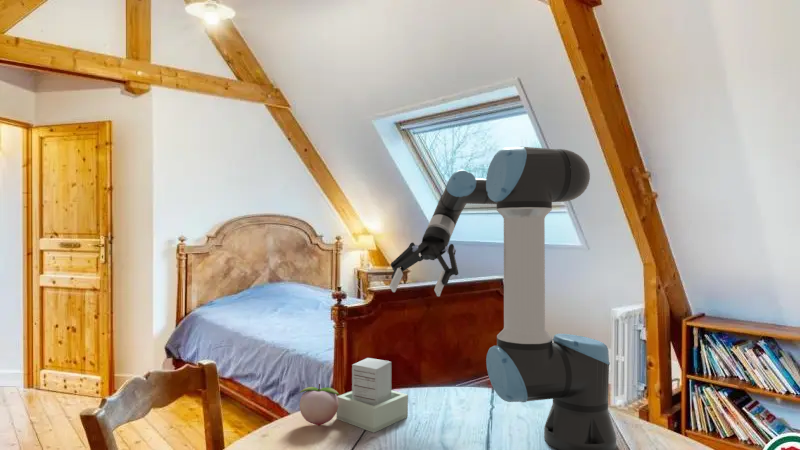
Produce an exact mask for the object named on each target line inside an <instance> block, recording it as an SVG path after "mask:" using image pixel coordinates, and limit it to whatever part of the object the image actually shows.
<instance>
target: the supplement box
mask: <svg viewBox="0 0 800 450" xmlns="http://www.w3.org/2000/svg"><path fill="white" fill-rule="evenodd" d="M351 366H352V367H351V384H352V385H351V391H352V399H353V400H356V401H360V402H363V403H366V404H369V405H372V406H375V405H378V404H380V403H383V402H385V401H388V400H390V399H391V390H392V361H389V360H386V359H385V360H384V359H377V358H373V357H366V358H364V359H362V360H359V361H358V362H355V363H353V364H351Z"/></svg>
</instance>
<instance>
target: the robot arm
mask: <svg viewBox="0 0 800 450" xmlns="http://www.w3.org/2000/svg"><path fill="white" fill-rule="evenodd" d="M590 180H591V172H590V169H589V165H588V164H587V162H586V161H585V159H584V158H583V157H582V156H581V155H579V154H577V153H576V152H574V151H573V150H568V149H565V148H564V149H563V148H546V147H545V148H543V147H531V146H511V147H510V146H509V147H504V148H501V149H500V150H498V151H497V152H496V153H495V154H494V156H493V157H492V159H491V161H490V162H489V166H488V169H487V173H486V178H481V177H476V176H474V174H473V172H470V171H467V170H465V169H460V170H456V171H455V172H453V173H452V174H451V176H450V177H449V179H448V181H447V183H446V186H445V188H444V191H443V193H442V195H441V196H440V197H439V200H438V201H437V205H436V207H435V209H434V212H433V215H432V216H431V218H430V220H429V223H428V225H427V227H426V230H425V231H424V234H423V236H422V241H421V243H419V244H415V243H414V242H411V243H410V244H408V245H409V246H408V247H407V248H406V249H405V250H404V251H403V252H402V253H401V254H399V256H397V257H396V258H395V259H394V260H393V261H392V262H391V263H390V267H391V269H392V270H393V273H392V274H391V281H390V283H389V285H388V286H389V289H390V290H391V292H392V293H396V291H397V289H398V287H399V286H400V285H399V284H400V282H401V280H402V278H403V276H404V273H403V272H404V271H406V270H408V269H410V267H412V266H414V265H415V264H416V263H418V262H422V261H424V260H426V261H427V260H428V261H429V260H430V261H435V260H438V262H439V264H440V265H441V267H442V269H443V270H441V272H440V274H439V276H438V279H437V281H436V283H435V286H434V289H433V290H434V293H435V295H436V297H441V294H442V291H443V289H444V286H446V285H448V282H449V280H450V278H451V277H452V276H458V275H459V269H458V265H457V261H456V256H455V255H456V251H457V249H456V248H455V245H454V244H452V243H450V240H451V237H452V235H453V233H454V230H455V228H456V225H457V222H458V220H459V218H460V215H461V214H462V212H463V211H464V208H465V207H466V205H496V212H498V213H499V214H500V215H501V216H502V219H503V329H502V330H501V331H500V332H499V333H498V334H497V335H496V345H493V346H491V347H489V349H488V351H487V353H486V359H485V360H486V361H485V362H486V363H485V364H486V370H487V375H488V378H489V382H490V384H491V386H492V388H493V390H494V392H495V393H496V395H497V396H498V397H499V398H500V399H502V401H504V402H507V403H526V402H533V401H534V402H535V401H544V400H552V404H551V407H550V410H549V413H548V416H547V419H546V421H545V424H544V428H543V430H544V431H543V433H544V434H543V435H544V436H543V437H544V438H543V439H544V441H545V442H546V443H547V444H548V445H549V446H551V447H552V448H554V449H556V450H616V449H617V434H616V431H615V428H614V424H613V421H612V418H611V415H610V412H609V384H610V383H609V378H610V377H609V376H610V375H609V374H610V373H609V372H610V364H611V362H610V355H609V348H608V346H607V345H606V344H605V343H604V342H603V341H600V340H597V339H595V338H591V337H586V336H581V335H577V334H571V333H570V334H568V333H556V334H554V335H553V337H552V335H551V334H549V333H548V332H547V331H546V288H545V287H546V282H545V281H546V279H545V277H546V276H545V273H546V270H545V269H546V265H545V264H546V259H545V257H546V256H545V254H546V253H545V251H546V250H545V249H546V247H545V246H546V245H545V241H546V239H545V237H546V235H545V234H546V231H545V230H546V229H545V219H546V217H547V216H548V214H550V213H551V211H552V209H553V204H552V203H563V202H564V203H565V202H570V201H574V200H575V199H577V198H580V197H581V195H582V194H584V193H585V191H586V190H587V189H588V186H589V183H590ZM449 243H450V244H449ZM445 253H447V254H448V258H449V261H450V262H449V263H450V265H451V267H450V268H449V266H448V265H447V263H446V261H445V259H444V257H443V256H442V255H444V254H445Z"/></svg>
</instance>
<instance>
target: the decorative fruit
mask: <svg viewBox="0 0 800 450" xmlns="http://www.w3.org/2000/svg"><path fill="white" fill-rule="evenodd" d="M303 392H304V393H303ZM301 393H303V394H302V395H301V397H300V400H299V411H300V414H301V416H302V417H303V419H305V421H306V422H308V423H310V424H313V425H314V426H315V425H316V426H317V427H320V426H322V425H325V424H326V423H329V422H331V420H332V419H333V418H334V417H335V416H336V415H337V409H338V398H337V396H339V395H340V393H339V392H338V391H337V390H336V389H334V388H333V387H321V383H318V388H317V387H315V386H308V387H305V388H303V389H302V390H300V391H299V394H301Z"/></svg>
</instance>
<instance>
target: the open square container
mask: <svg viewBox="0 0 800 450" xmlns="http://www.w3.org/2000/svg"><path fill="white" fill-rule="evenodd" d="M337 398H338V409H337V412H336V420H338V421H341V422H344V423H346V424H350V425H352V426H356V427H358V428H360V429H362V430H366V431H369V432H371V433H376V432H379V431H380V430H383V429H385V428H387V427H389V426H391V425H394V424H395V423H397V422H400V421H403V420H404V419H406V418H409V417H408V416H409V410H408V409H409V407H408V406H409V404H408V403H409V394H406V393H403V392H399V391H395V390H393V389H391V399H390V400H388V401H385V402H383V403H380V404H378V405H375V406H372V405H369V404H366V403H363V402H360V401H356V400H353V399H352V390H351V391H347V392H345V393H343V394H339V395H337Z"/></svg>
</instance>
